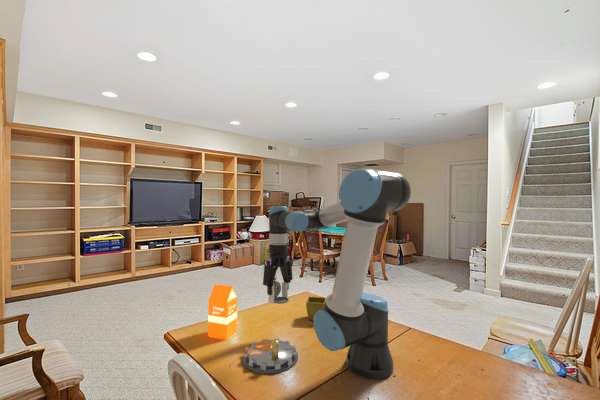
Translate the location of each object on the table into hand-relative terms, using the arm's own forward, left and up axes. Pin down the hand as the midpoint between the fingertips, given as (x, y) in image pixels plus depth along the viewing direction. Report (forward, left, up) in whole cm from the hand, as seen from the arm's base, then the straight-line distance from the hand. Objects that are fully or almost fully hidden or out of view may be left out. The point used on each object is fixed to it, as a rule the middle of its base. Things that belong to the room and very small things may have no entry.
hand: (278, 300), depth 117 cm
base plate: (-11, +13, -14) cm, 22 cm away
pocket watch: (0, 0, 0) cm, 1 cm away
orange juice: (+17, +15, -15) cm, 27 cm away
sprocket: (-11, +13, -14) cm, 22 cm away
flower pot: (0, -24, -15) cm, 28 cm away
